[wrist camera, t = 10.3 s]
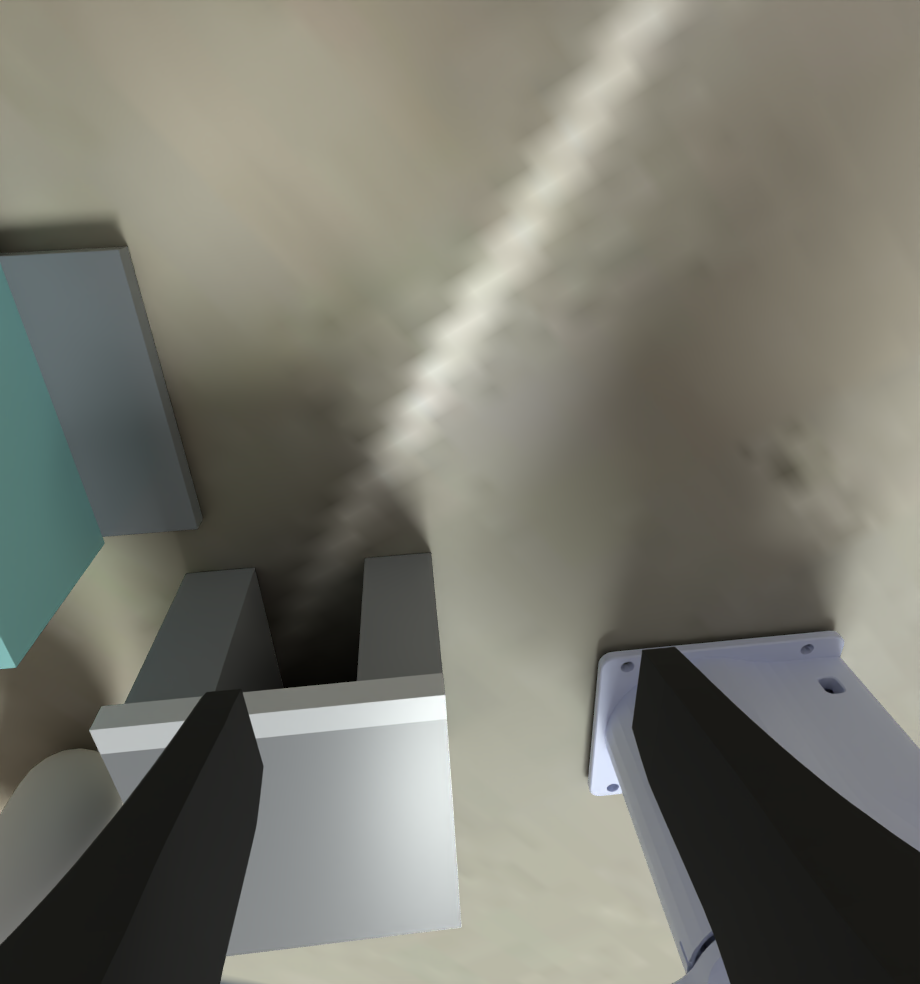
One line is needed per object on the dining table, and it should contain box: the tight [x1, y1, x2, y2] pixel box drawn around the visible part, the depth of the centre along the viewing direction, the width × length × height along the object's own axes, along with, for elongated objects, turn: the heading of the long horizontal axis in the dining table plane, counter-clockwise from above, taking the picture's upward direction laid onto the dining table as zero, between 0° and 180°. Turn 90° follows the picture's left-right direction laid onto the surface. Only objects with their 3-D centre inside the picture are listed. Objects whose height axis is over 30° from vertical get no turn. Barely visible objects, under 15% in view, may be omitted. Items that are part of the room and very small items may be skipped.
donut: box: [0, 748, 123, 944], centre depth 20 cm, size 10×4×10 cm, turn 145°
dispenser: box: [89, 553, 461, 956], centre depth 20 cm, size 8×10×7 cm
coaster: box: [0, 246, 203, 537], centre depth 17 cm, size 8×8×1 cm
